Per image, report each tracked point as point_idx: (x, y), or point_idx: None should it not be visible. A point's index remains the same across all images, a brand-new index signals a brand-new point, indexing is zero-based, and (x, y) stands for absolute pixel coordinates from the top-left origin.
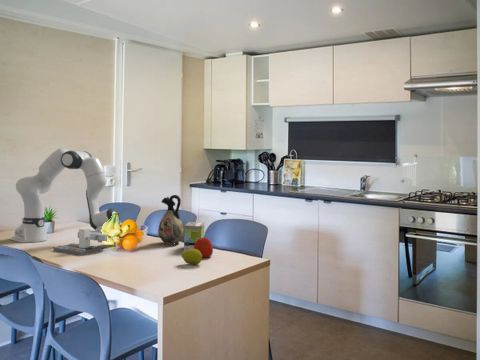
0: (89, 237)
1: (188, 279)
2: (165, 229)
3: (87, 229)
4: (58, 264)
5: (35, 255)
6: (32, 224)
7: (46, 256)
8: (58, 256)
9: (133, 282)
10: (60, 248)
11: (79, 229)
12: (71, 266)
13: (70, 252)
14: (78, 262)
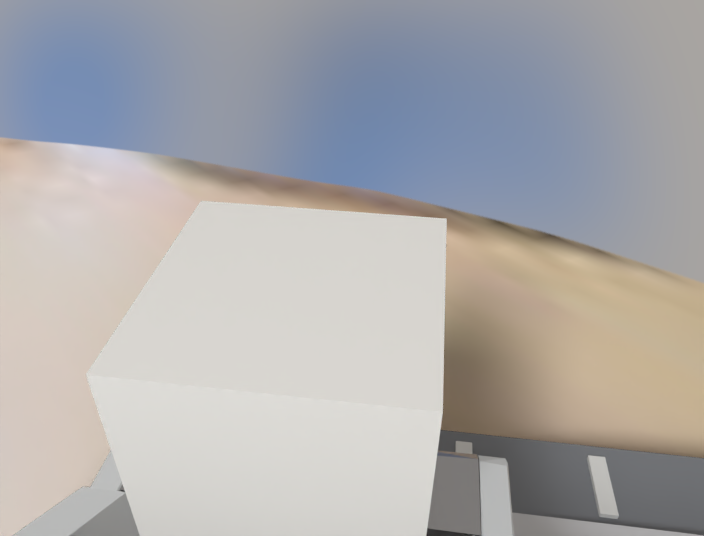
0: (115, 467)
1: None
2: None
3: (151, 284)
4: (223, 180)
5: (697, 285)
6: None
7: (560, 292)
8: (452, 328)
9: None
10: (700, 461)
11: (426, 230)
12: (92, 175)
13: None
14: (88, 246)
